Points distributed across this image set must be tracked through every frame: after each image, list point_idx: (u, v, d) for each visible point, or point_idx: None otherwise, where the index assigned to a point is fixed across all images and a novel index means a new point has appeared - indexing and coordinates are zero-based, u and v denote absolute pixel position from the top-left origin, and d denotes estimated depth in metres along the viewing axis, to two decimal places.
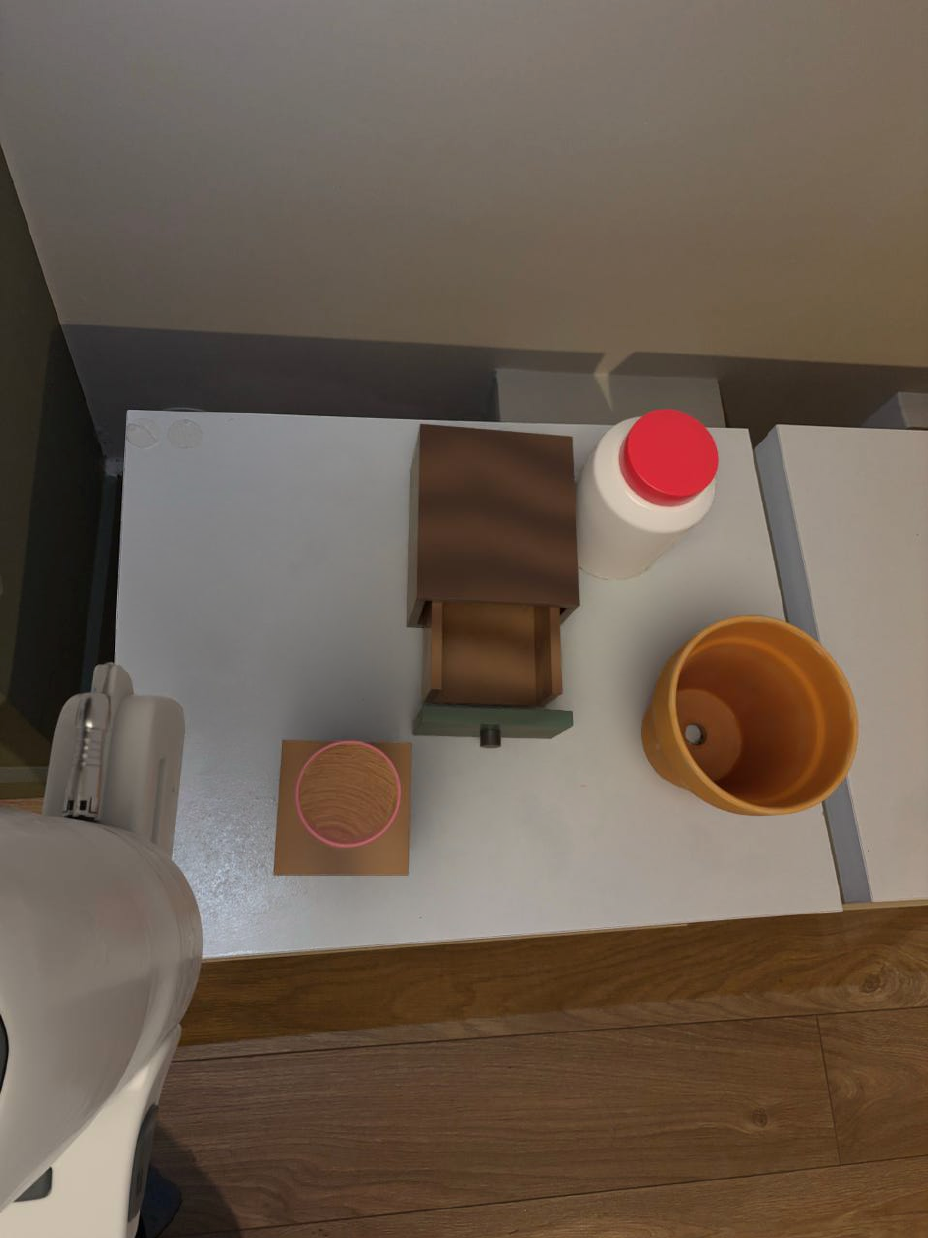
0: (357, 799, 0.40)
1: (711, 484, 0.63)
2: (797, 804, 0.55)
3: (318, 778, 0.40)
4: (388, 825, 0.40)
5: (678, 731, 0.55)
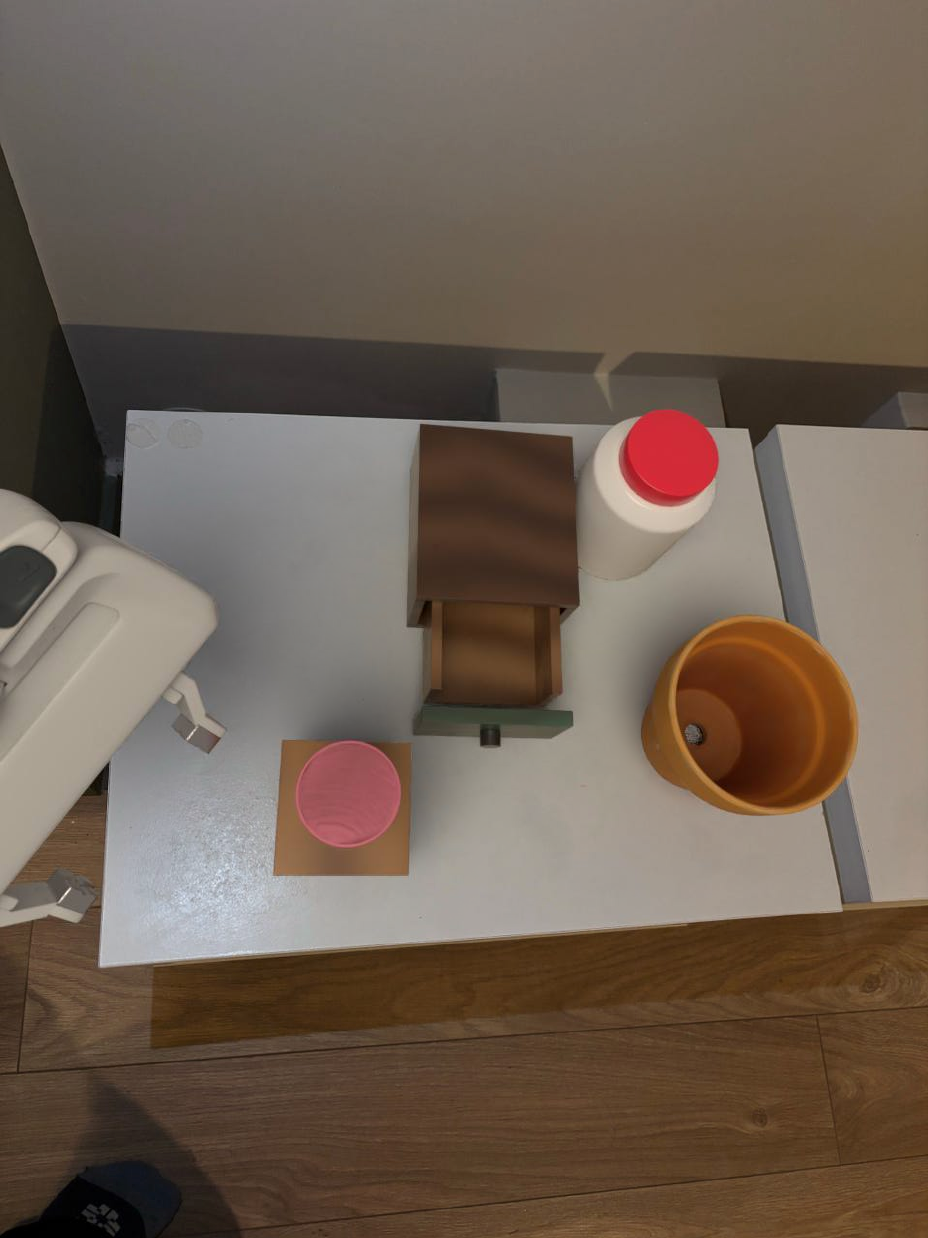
0: (357, 799, 0.40)
1: (711, 484, 0.63)
2: (797, 804, 0.55)
3: (318, 778, 0.40)
4: (388, 825, 0.40)
5: (678, 731, 0.55)
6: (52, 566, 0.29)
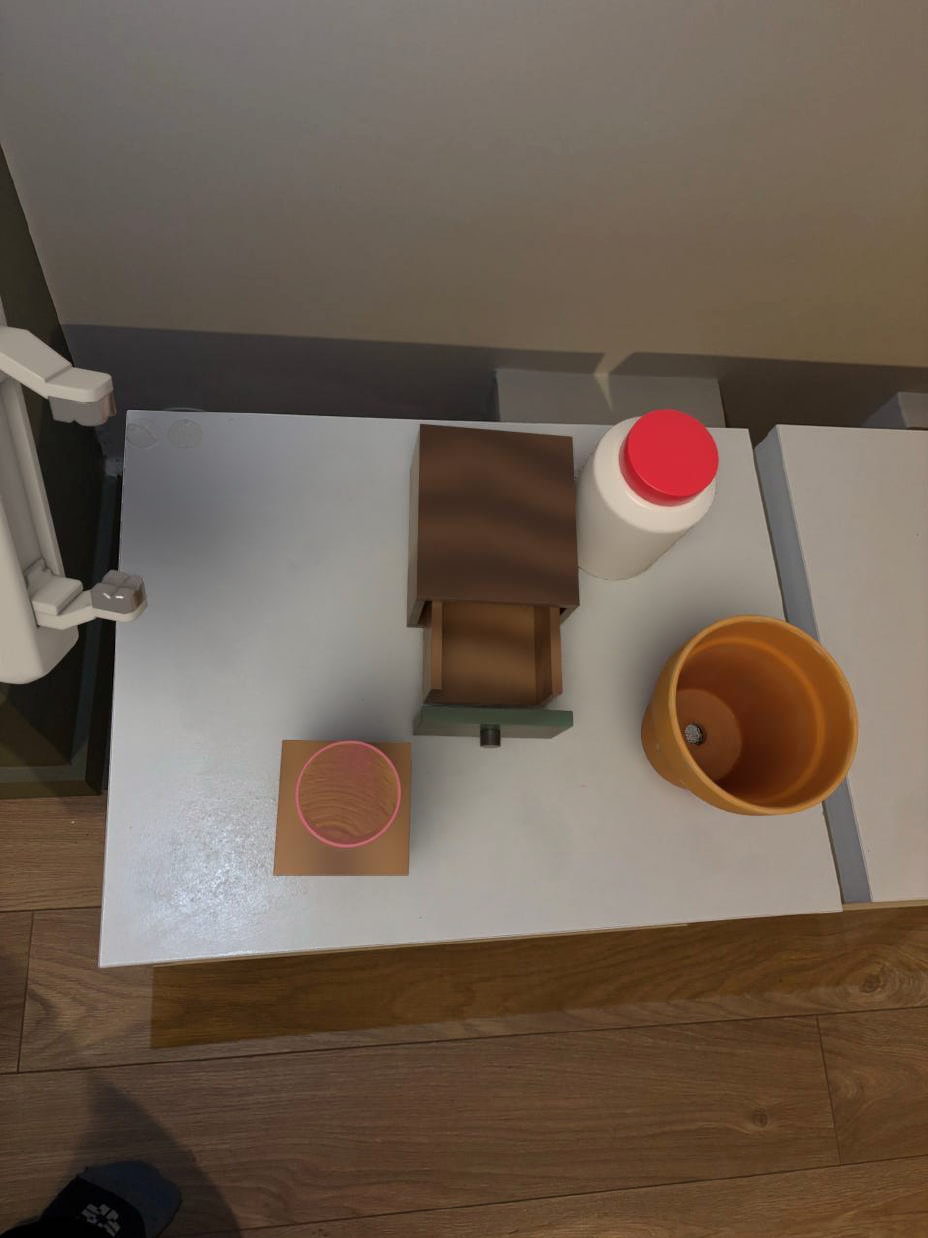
0: (357, 799, 0.40)
1: (711, 484, 0.63)
2: (797, 804, 0.55)
3: (318, 778, 0.40)
4: (388, 825, 0.40)
5: (678, 731, 0.55)
6: None
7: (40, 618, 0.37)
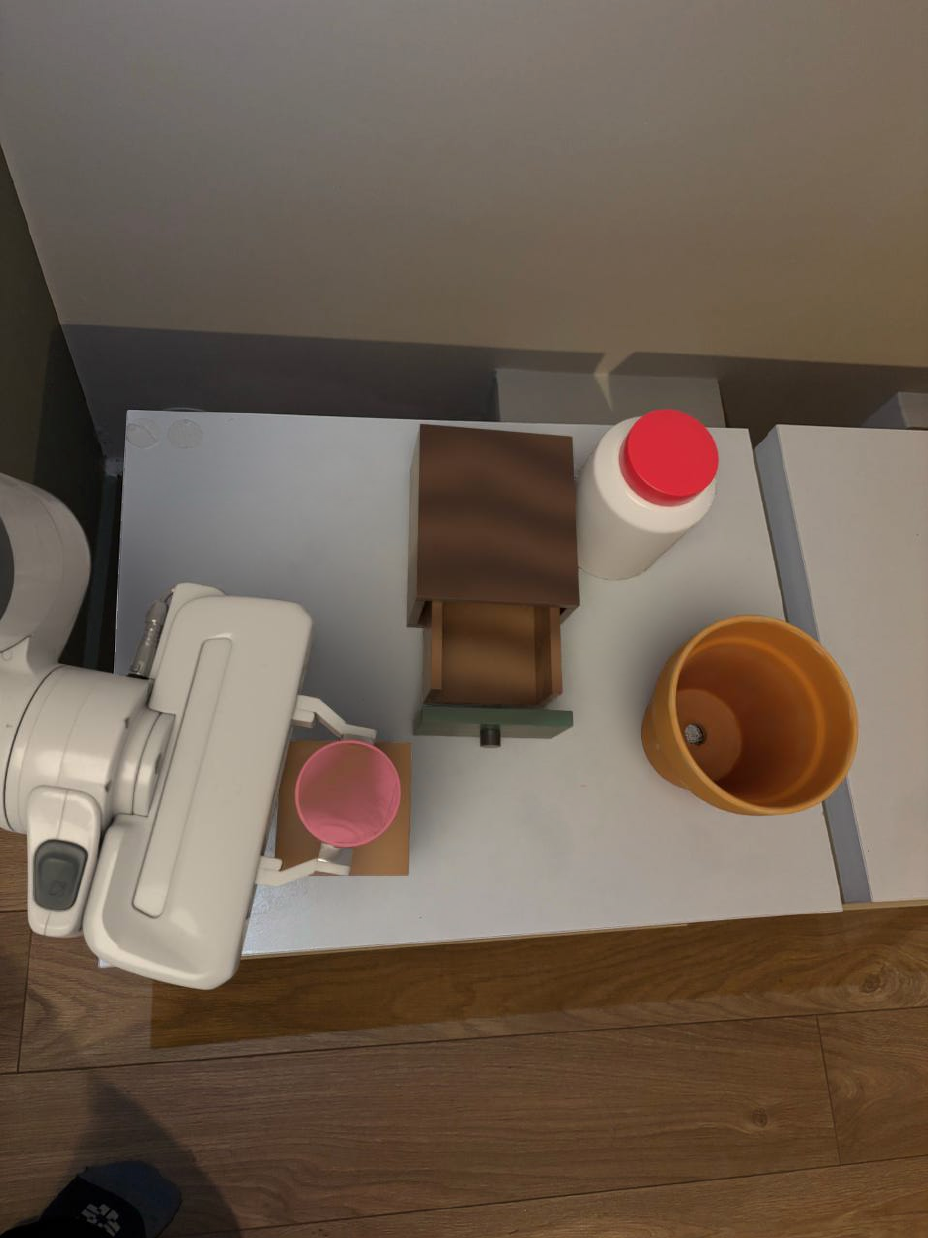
0: (357, 798, 0.40)
1: (711, 484, 0.63)
2: (797, 804, 0.55)
3: (318, 777, 0.40)
4: (388, 824, 0.40)
5: (678, 731, 0.55)
6: None
7: (260, 875, 0.41)
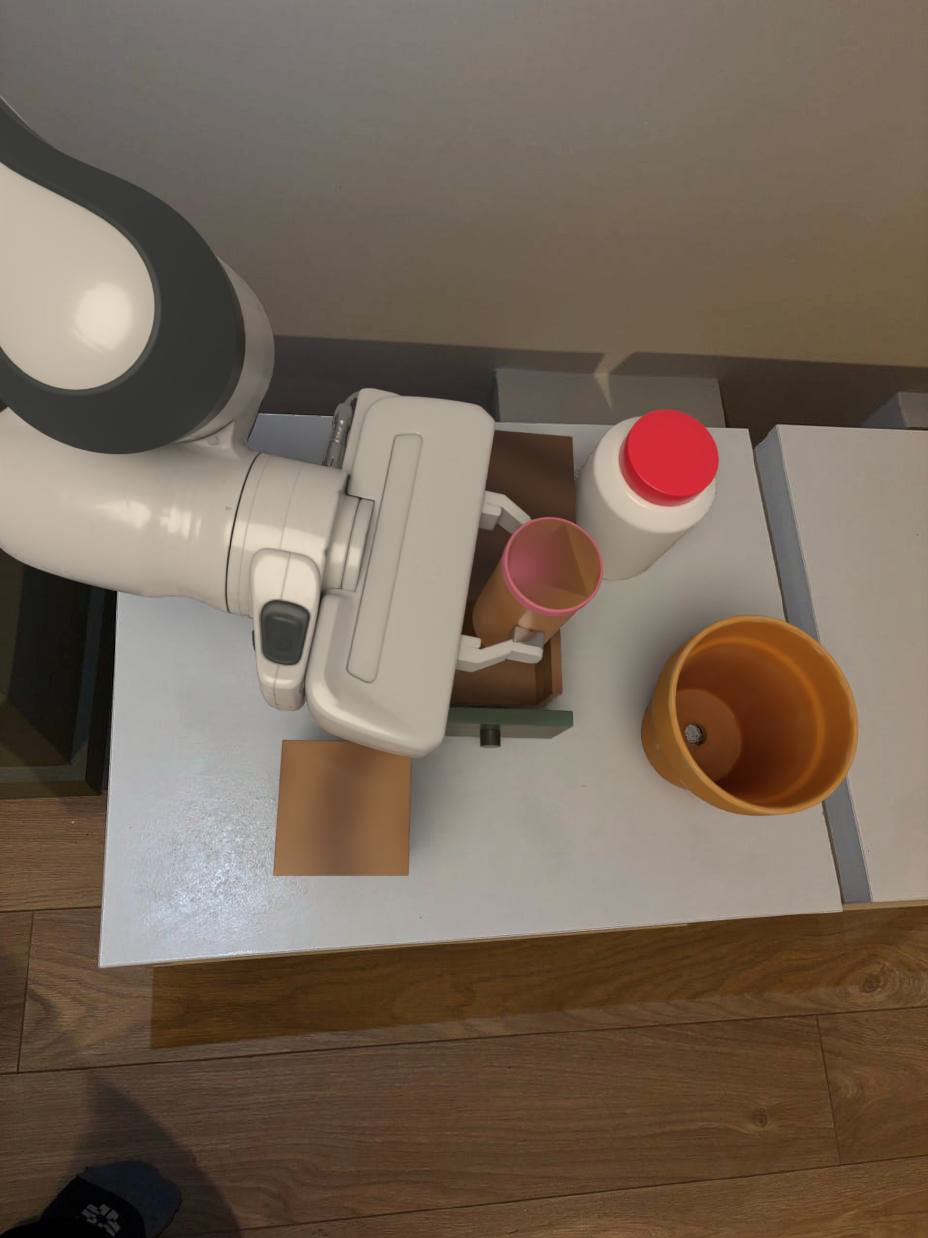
0: (563, 569, 0.41)
1: (711, 484, 0.63)
2: (797, 804, 0.55)
3: (525, 549, 0.41)
4: (593, 594, 0.41)
5: (678, 731, 0.55)
6: None
7: (461, 651, 0.42)
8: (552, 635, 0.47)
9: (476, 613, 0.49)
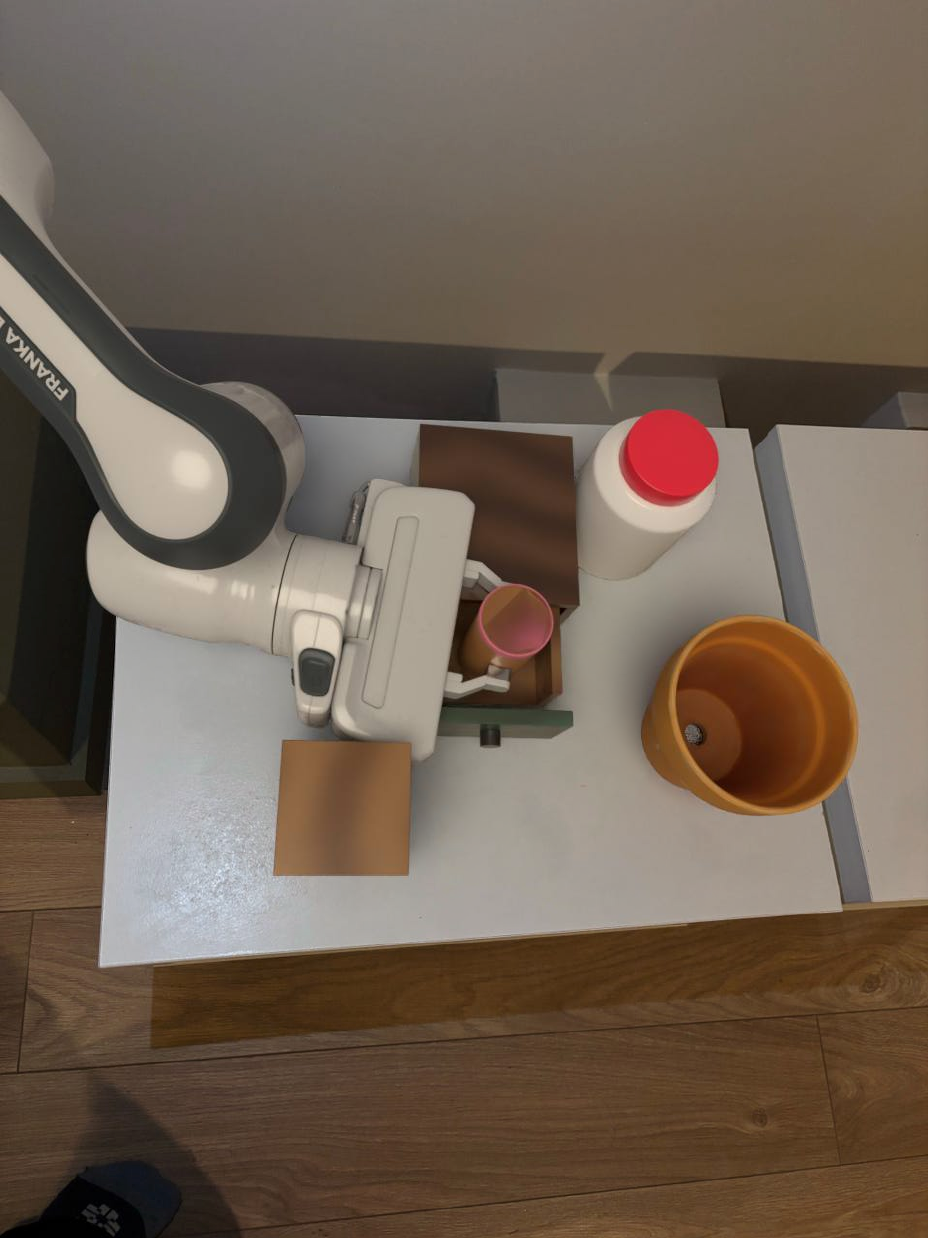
0: (523, 624, 0.55)
1: (711, 484, 0.63)
2: (797, 804, 0.55)
3: (495, 608, 0.55)
4: (545, 642, 0.55)
5: (678, 731, 0.55)
6: None
7: (447, 684, 0.56)
8: (519, 669, 0.61)
9: (461, 651, 0.63)
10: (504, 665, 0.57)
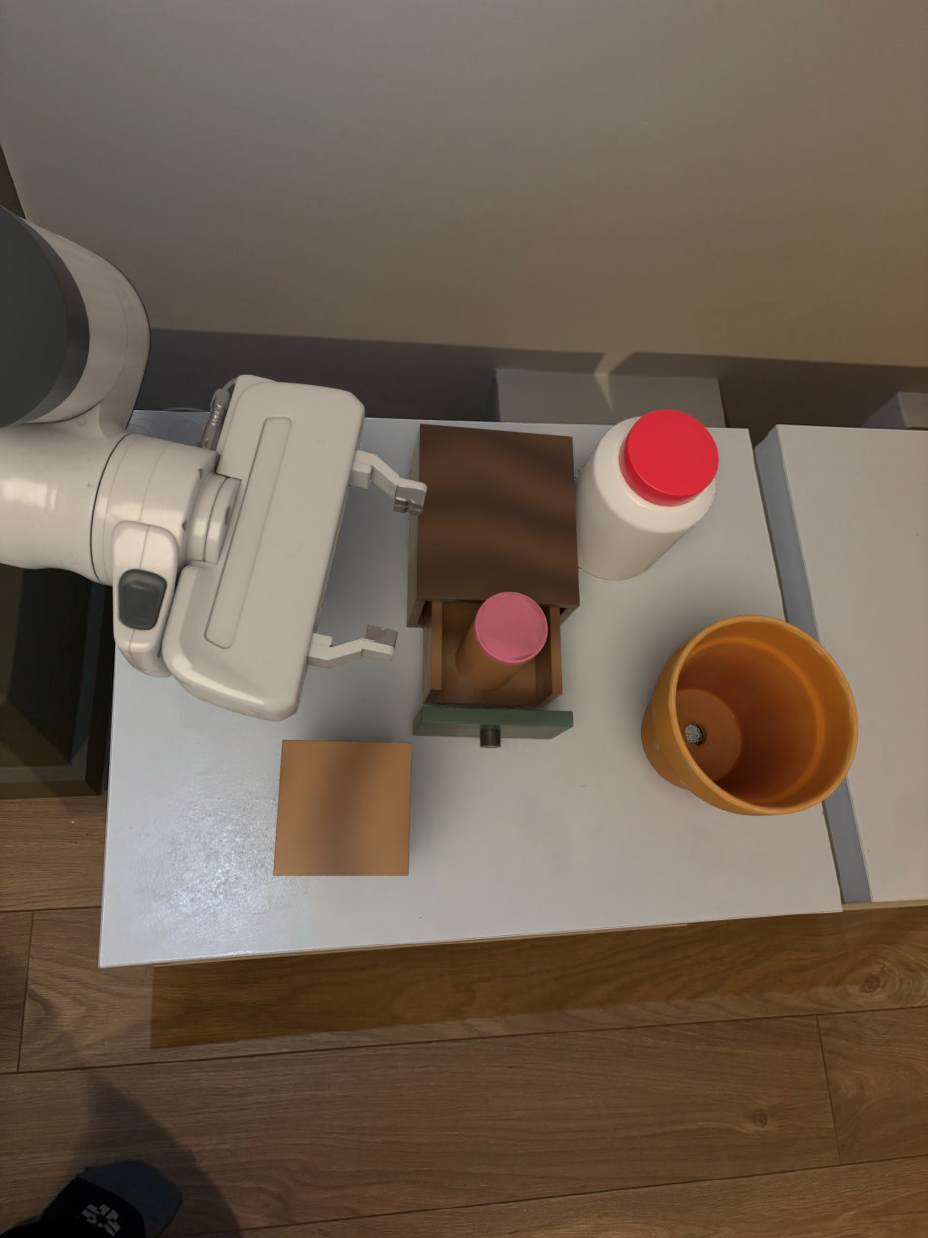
0: (518, 631, 0.56)
1: (711, 484, 0.63)
2: (797, 804, 0.55)
3: (491, 616, 0.56)
4: (540, 649, 0.56)
5: (678, 731, 0.55)
6: None
7: (312, 648, 0.44)
8: (514, 674, 0.62)
9: (458, 657, 0.64)
10: (500, 671, 0.58)
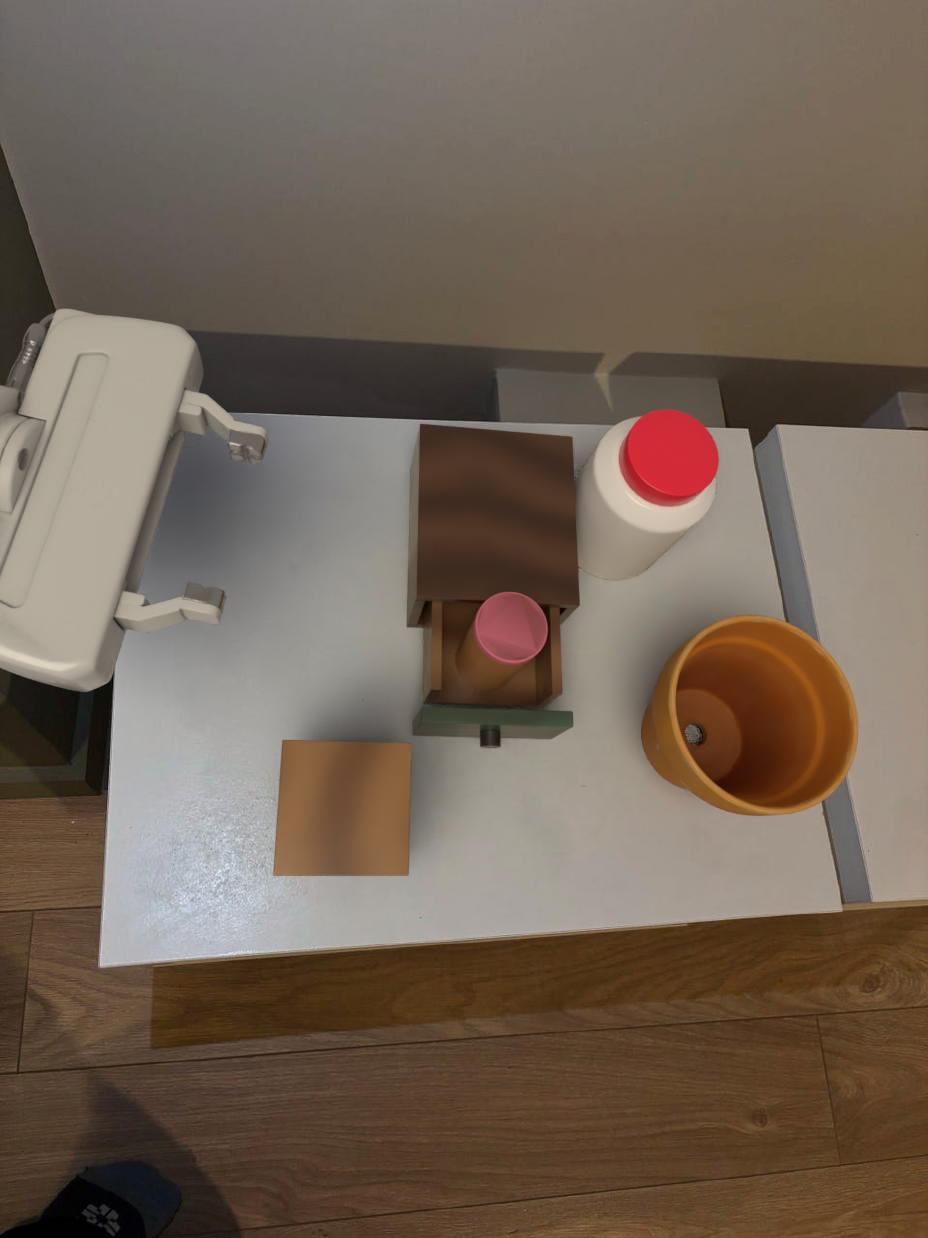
0: (518, 631, 0.56)
1: (711, 484, 0.63)
2: (797, 804, 0.55)
3: (491, 616, 0.56)
4: (540, 649, 0.56)
5: (678, 731, 0.55)
6: None
7: (121, 608, 0.39)
8: (514, 674, 0.62)
9: (458, 657, 0.64)
10: (500, 671, 0.58)
